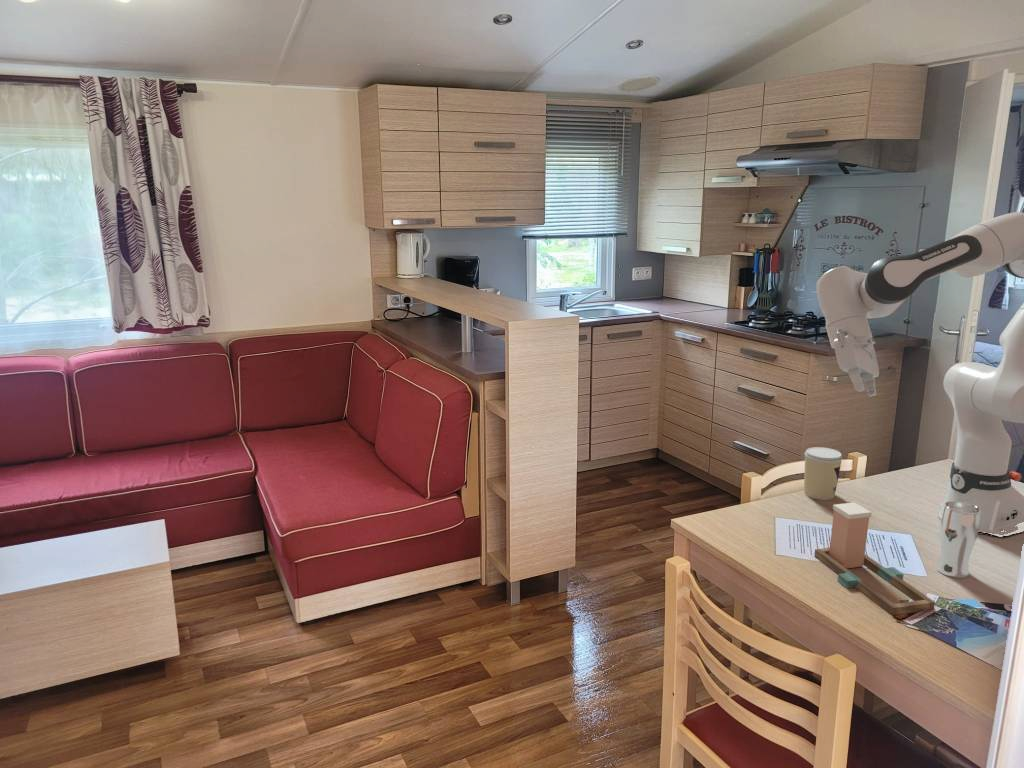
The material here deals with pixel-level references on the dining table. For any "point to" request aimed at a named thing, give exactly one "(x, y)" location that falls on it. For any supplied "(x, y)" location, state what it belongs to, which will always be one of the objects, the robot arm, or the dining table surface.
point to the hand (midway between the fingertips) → (866, 393)
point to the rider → (849, 534)
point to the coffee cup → (821, 472)
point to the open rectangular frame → (888, 574)
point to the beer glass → (957, 537)
